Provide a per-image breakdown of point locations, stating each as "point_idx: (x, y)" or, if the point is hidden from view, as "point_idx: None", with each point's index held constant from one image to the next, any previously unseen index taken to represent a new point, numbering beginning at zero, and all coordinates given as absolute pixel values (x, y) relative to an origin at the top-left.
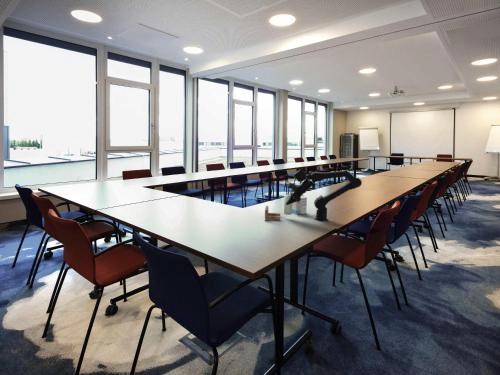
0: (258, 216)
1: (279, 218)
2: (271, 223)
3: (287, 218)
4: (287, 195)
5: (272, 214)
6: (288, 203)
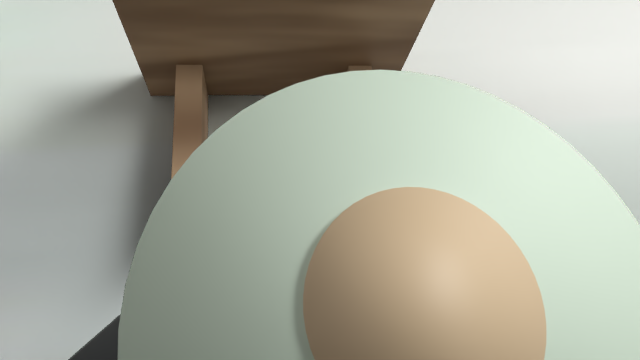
0: None
1: None
2: (14, 146)
3: None
4: (406, 232)
5: None
6: None
